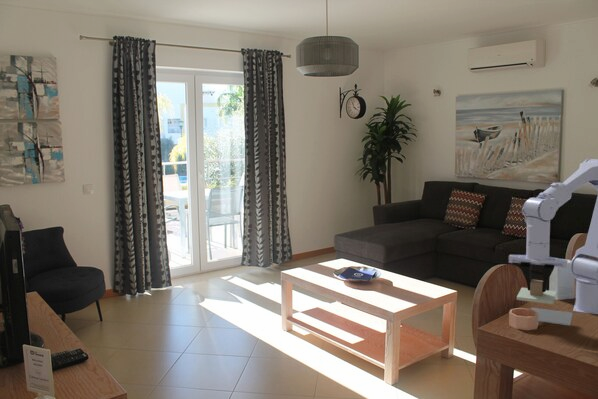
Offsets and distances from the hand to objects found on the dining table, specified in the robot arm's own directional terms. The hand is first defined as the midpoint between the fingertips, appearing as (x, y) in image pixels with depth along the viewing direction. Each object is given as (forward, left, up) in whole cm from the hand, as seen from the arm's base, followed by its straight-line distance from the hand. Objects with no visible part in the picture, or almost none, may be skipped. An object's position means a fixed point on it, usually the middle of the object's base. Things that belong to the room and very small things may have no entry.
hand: (536, 290), depth 144 cm
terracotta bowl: (+5, -3, -9) cm, 11 cm away
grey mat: (-5, +3, -9) cm, 11 cm away
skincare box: (-24, +5, -9) cm, 26 cm away
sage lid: (0, 0, -2) cm, 2 cm away
